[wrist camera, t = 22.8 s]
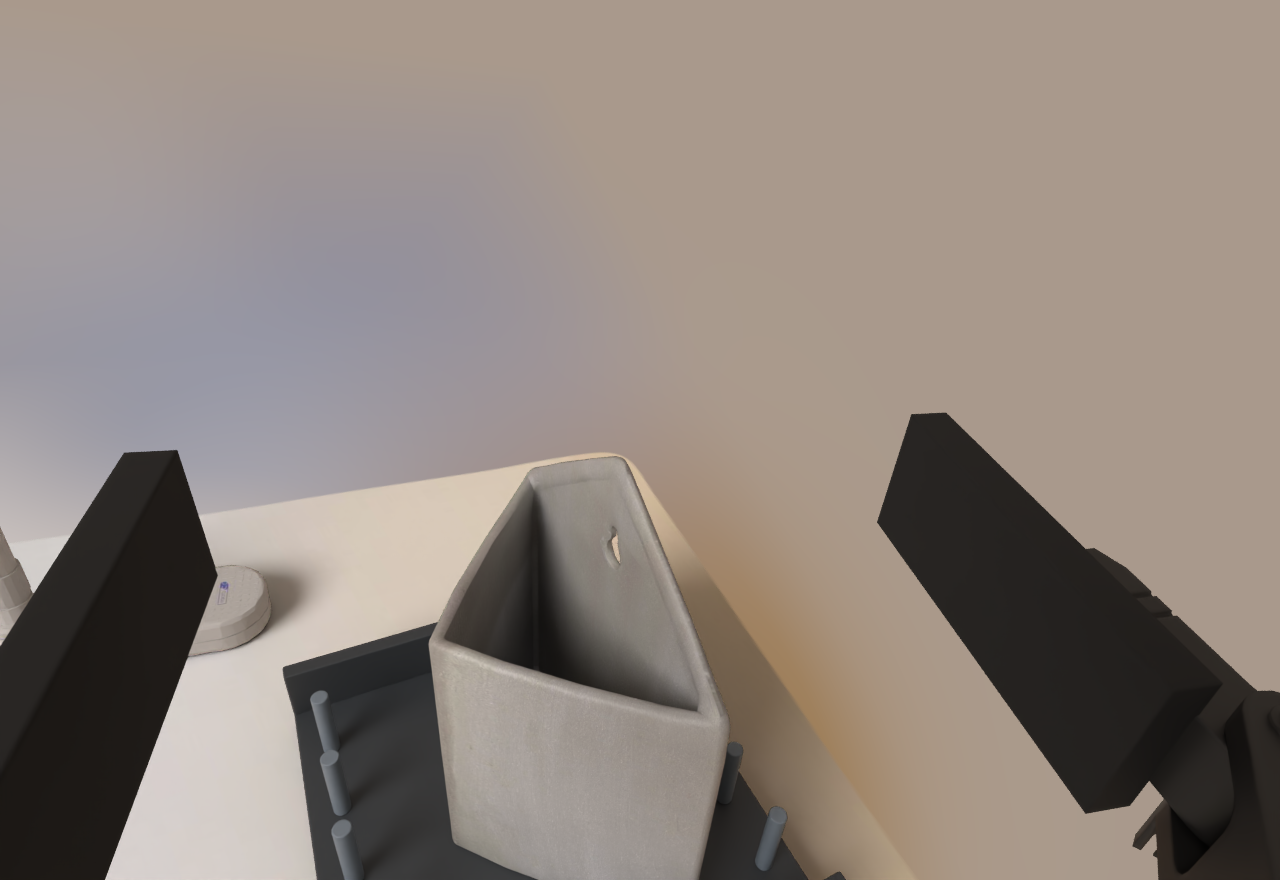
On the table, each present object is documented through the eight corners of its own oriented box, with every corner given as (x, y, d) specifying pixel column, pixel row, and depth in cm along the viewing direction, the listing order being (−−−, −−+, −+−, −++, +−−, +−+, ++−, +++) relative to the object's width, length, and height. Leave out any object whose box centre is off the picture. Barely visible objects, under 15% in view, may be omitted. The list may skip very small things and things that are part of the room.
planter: (403, 709, 40) (353, 397, 30) (539, 656, 44) (538, 361, 33) (523, 1029, 29) (510, 708, 18) (694, 921, 32) (767, 602, 22)
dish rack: (627, 616, 49) (633, 553, 46) (829, 938, 34) (858, 875, 31) (297, 721, 41) (278, 653, 38) (366, 1211, 25) (342, 1162, 22)
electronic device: (241, 521, 40) (-118, 566, 35) (271, 649, 45) (-38, 704, 40) (248, 466, 44) (-72, 499, 39) (274, 588, 49) (-5, 631, 44)
